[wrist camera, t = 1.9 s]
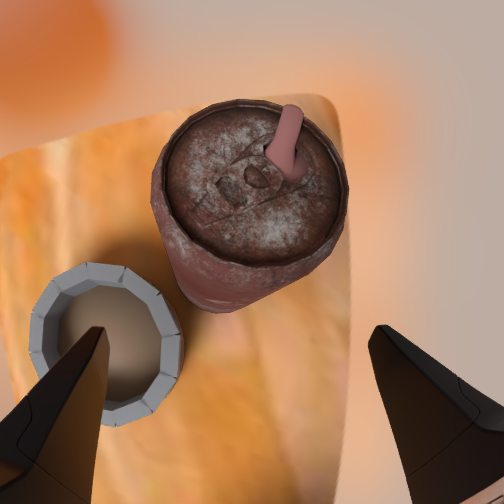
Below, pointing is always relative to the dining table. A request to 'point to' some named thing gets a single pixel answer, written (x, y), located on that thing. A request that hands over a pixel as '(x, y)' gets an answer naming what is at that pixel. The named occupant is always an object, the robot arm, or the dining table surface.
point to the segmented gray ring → (112, 334)
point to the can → (247, 201)
